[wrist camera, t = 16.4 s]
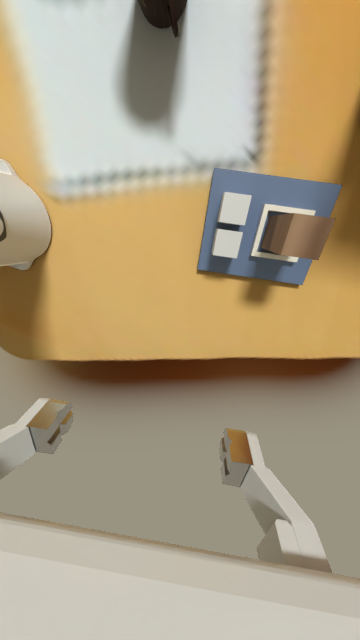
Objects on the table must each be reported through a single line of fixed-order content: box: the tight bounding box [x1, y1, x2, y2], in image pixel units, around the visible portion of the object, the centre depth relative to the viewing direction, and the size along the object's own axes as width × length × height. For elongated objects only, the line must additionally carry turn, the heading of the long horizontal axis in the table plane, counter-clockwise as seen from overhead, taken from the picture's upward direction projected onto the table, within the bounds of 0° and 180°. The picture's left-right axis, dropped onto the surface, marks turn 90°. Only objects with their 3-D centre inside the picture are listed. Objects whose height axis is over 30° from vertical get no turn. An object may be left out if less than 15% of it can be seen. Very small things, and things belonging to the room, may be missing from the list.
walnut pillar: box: [260, 213, 335, 260], centre depth 30 cm, size 5×5×10 cm
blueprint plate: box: [198, 168, 342, 285], centre depth 34 cm, size 20×16×5 cm
